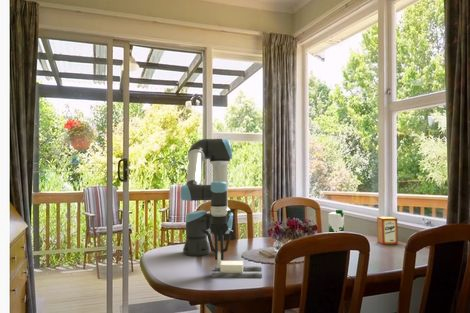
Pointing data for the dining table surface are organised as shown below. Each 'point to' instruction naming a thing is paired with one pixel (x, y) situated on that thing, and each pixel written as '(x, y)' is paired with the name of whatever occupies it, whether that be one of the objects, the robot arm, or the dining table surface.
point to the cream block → (231, 267)
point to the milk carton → (336, 221)
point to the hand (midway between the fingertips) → (219, 266)
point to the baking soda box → (387, 230)
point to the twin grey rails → (240, 275)
